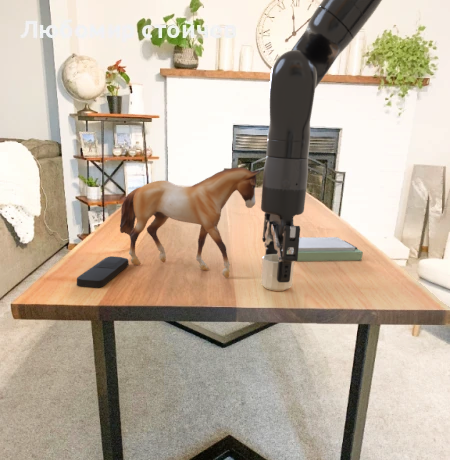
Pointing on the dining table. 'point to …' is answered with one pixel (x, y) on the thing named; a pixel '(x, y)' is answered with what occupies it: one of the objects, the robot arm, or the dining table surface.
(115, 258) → the remote control
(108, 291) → the dining table surface
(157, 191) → the horse figurine
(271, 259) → the white ceramic cup
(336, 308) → the dining table surface
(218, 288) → the dining table surface
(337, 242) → the scale
